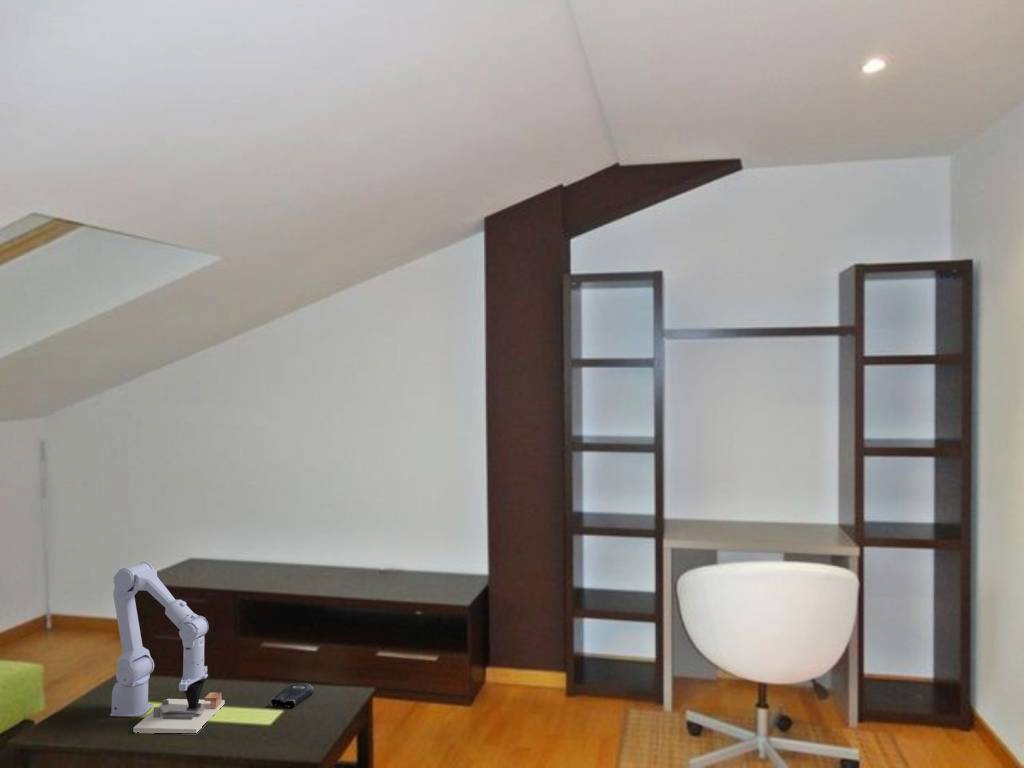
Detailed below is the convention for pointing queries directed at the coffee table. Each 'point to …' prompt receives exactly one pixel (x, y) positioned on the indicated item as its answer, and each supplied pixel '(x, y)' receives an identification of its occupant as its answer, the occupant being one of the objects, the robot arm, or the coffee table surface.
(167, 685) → the coffee table surface
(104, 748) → the coffee table surface
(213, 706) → the block
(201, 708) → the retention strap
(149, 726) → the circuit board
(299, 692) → the electronic device
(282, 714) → the coffee table surface
